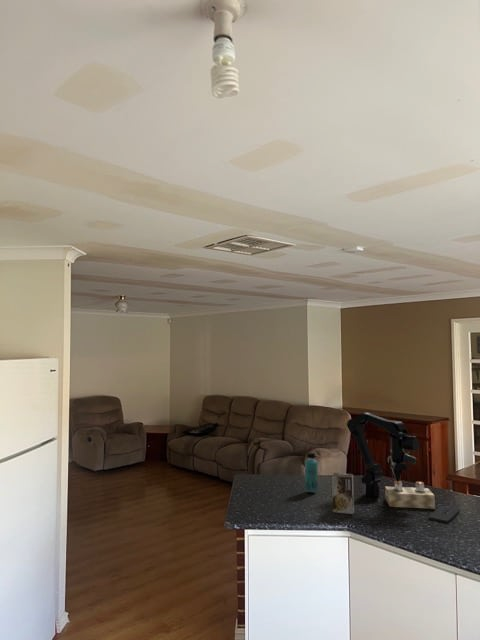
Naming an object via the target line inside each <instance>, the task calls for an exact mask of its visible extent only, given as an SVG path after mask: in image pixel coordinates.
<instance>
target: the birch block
mask: <svg viewBox="0 0 480 640" xmlns="http://www.w3.org/2000/svg"><path fill="white" fill-rule="evenodd" d="M384 487H385V488H384V489H385V493H384V497H385V500H386V503H387V504H388V506H389V507H393V508H410V509H411V508H415V509H433V510H434V509H436V508H435V507H436V505H435V503H436V501H435V498H436V497H435V494H434V493H433V492H432V491H431V489H429V488H428V487H424V493H421V492H416V487H409V486H405V487H404V486H402V492H398V491H394V486H386V485H385V486H384Z"/></svg>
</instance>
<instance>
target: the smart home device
mask: <svg viewBox="0 0 480 640" xmlns="http://www.w3.org/2000/svg"><path fill="white" fill-rule="evenodd" d="M460 511H461V510H460V508H454V507H450V506H444V505H441V506H439V507H438V508H437V509H436V510H435V511H433V512H432V513H430V515H428V521H429V520H430V521H433V522H438V523H442V524H449V523H450V522H451V521H452V520H453V519H455V517H457V516H458V515H459V514H460V513H461V512H460Z"/></svg>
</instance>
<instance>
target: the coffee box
mask: <svg viewBox="0 0 480 640" xmlns="http://www.w3.org/2000/svg"><path fill="white" fill-rule="evenodd" d="M332 473H333V474H332V476H331V483H332V485H331V486H332V490H331V491H332V513H336V514H337V513H339V514H349V515H350V514H351V515H354V512H355V499H354V497H355V495H354V492H355V491H354V487H355V486H354V474H353V473H344V472H332Z"/></svg>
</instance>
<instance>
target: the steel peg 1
mask: <svg viewBox="0 0 480 640" xmlns="http://www.w3.org/2000/svg"><path fill="white" fill-rule="evenodd" d="M393 487H394V491H398V492H402V487H403V481H401V480H399V482H398V481H396V480H394V481H393Z"/></svg>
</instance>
